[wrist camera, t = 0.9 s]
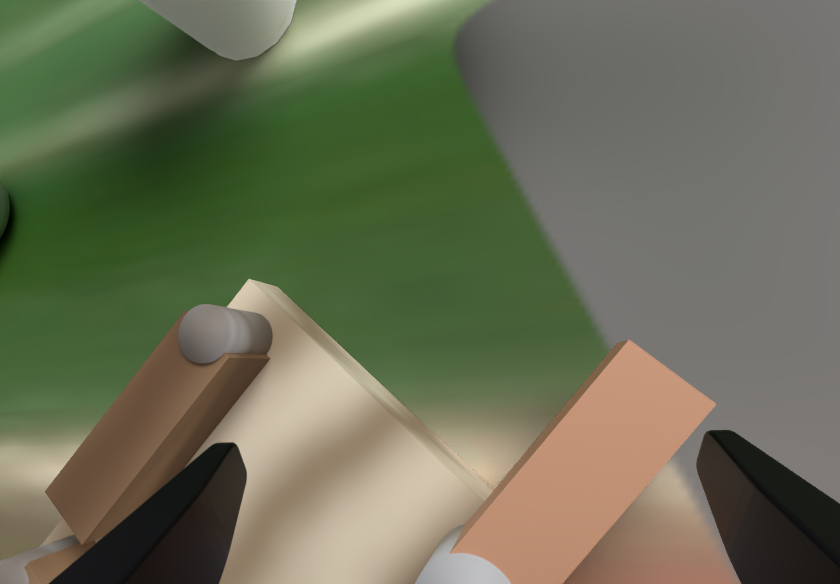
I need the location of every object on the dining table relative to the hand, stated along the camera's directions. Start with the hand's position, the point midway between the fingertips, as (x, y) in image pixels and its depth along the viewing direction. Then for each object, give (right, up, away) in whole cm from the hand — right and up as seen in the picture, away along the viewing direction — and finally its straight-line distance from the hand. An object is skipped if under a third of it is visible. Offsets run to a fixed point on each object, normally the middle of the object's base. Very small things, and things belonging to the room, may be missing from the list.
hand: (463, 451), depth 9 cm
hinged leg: (+4, -4, +9) cm, 10 cm away
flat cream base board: (-7, -9, +14) cm, 18 cm away
